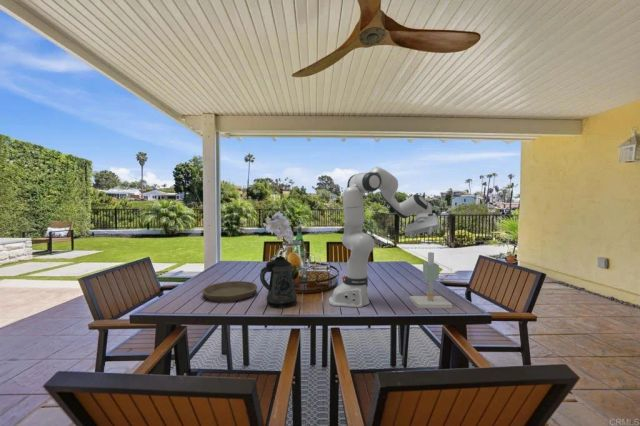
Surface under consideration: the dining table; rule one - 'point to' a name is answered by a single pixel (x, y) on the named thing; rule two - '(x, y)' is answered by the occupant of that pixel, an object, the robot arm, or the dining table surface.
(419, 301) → the post stand
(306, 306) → the dining table surface
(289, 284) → the beer stein
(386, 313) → the dining table surface
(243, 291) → the plant saucer
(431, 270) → the sleeve
